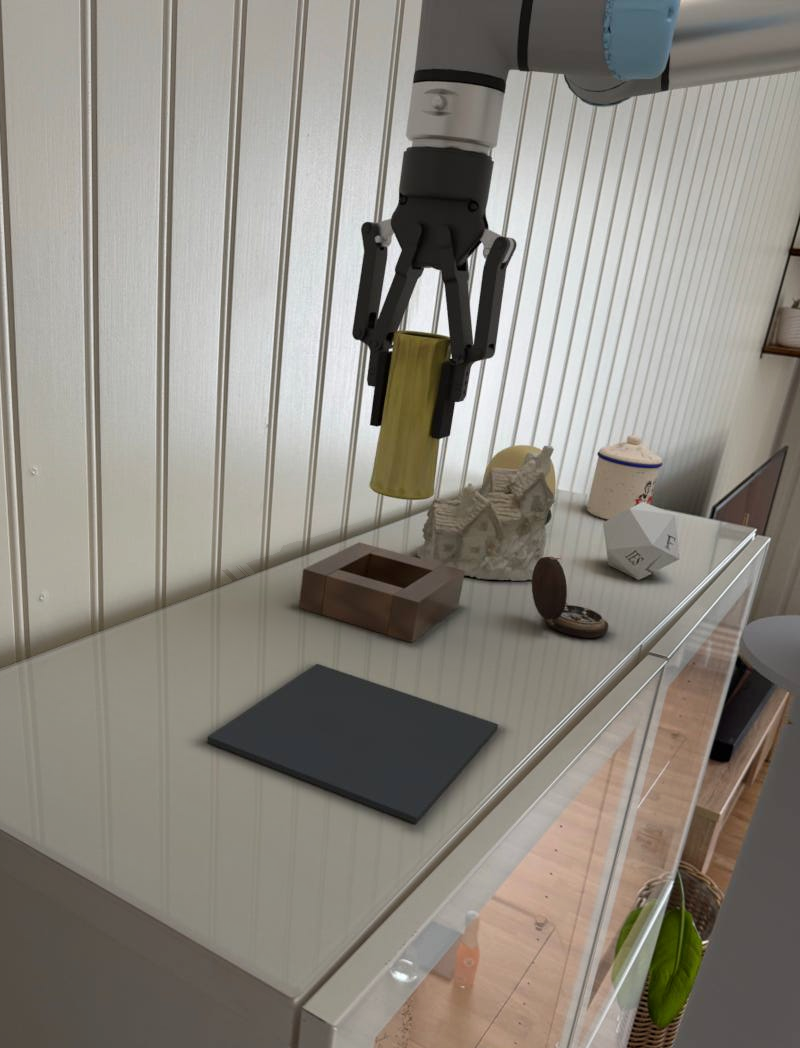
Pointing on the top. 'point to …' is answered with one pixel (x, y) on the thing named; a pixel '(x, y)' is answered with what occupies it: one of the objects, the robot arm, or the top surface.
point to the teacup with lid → (623, 478)
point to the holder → (381, 590)
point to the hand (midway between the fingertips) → (409, 429)
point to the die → (641, 540)
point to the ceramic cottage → (493, 523)
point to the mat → (358, 740)
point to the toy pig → (519, 464)
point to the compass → (562, 602)
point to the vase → (410, 417)
